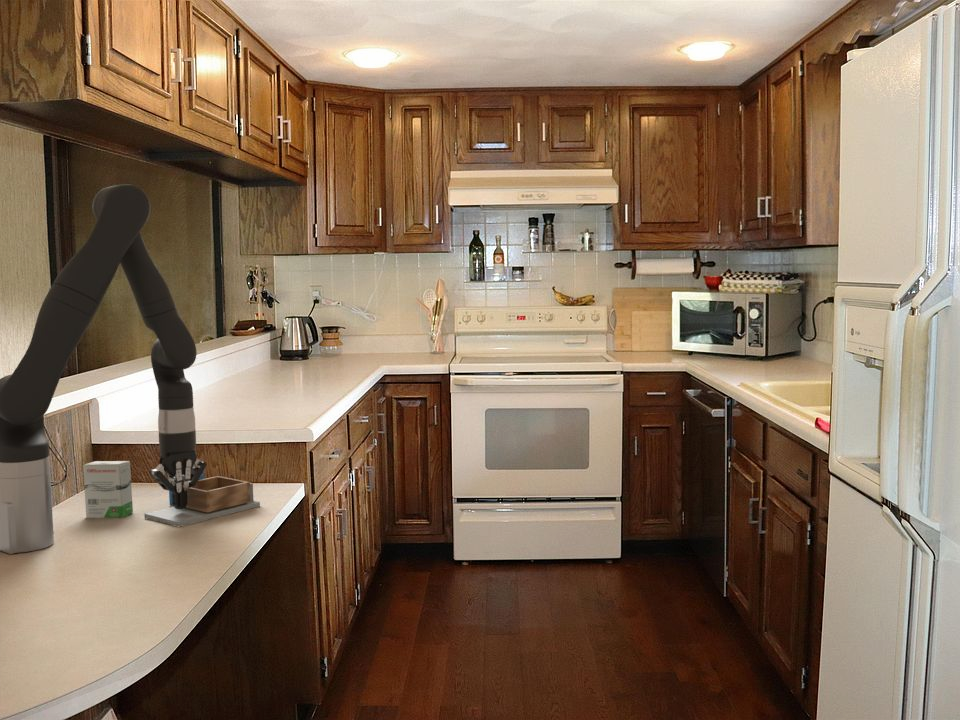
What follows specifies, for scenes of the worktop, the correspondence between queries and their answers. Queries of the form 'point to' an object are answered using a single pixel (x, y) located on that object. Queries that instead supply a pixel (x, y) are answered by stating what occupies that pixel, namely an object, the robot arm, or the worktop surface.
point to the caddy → (218, 494)
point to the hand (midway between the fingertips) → (180, 508)
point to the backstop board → (197, 513)
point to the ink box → (108, 489)
